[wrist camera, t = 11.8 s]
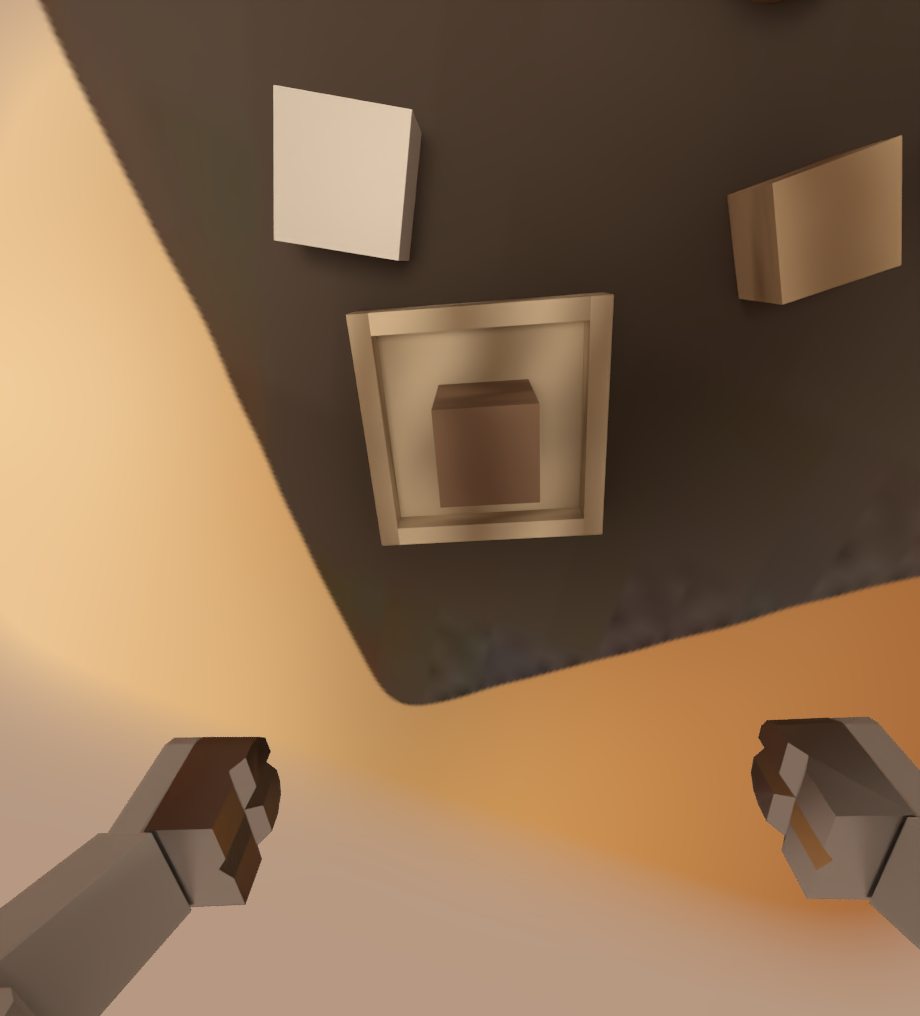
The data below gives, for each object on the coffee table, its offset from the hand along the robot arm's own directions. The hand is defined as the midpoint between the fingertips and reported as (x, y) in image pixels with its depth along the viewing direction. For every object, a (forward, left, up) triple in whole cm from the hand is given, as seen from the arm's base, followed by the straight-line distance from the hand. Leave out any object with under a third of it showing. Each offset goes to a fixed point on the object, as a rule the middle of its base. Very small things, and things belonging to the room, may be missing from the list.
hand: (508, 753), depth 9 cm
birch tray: (0, 0, -21) cm, 21 cm away
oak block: (-14, -8, -21) cm, 26 cm away
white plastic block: (+5, -11, -21) cm, 24 cm away
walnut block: (0, 0, -20) cm, 20 cm away
